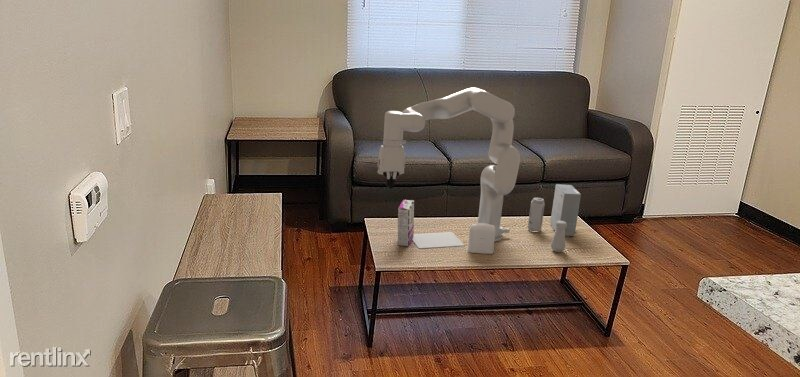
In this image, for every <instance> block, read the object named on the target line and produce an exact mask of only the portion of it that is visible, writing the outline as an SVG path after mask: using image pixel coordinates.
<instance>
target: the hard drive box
mask: <svg viewBox="0 0 800 377" xmlns="http://www.w3.org/2000/svg"><path fill="white" fill-rule="evenodd" d="M554 187H555V188H554V194H553V195H554V196H553V202H552V208H551V214H550V215H551V216H550V221H549V222H550V223H551V225H552V226H553V228H554V229H553V228H552V229H553V231H554V230H555V231H556V229H557V227H556V222H557V221H565V222H566V223H567V227H566V228H565V237H569V236H574V237H575V234H576V228H577V222H578V216H579V210H580V203H581V199H582V198H581V197H582V194H581V193H580V192H579V191H578V190H577V189H576V188H575V187H574V186H573V185H572V184H560V183H556V184H555V186H554ZM551 225H550V226H551ZM552 226H551V227H552ZM555 231H554V232H555Z"/></svg>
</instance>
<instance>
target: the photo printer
mask: <svg viewBox="0 0 800 377" xmlns="http://www.w3.org/2000/svg"><path fill="white" fill-rule="evenodd" d="M494 241H495V227H494V226H493V225H491V224H487V223H478V222H477V223H473V224H470V228H469V236H468V245H467V247H468V248H467V252H469V253H471V254H487V255H491V254H492V255H493V253H494V249H495V242H494Z"/></svg>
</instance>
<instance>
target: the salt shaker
mask: <svg viewBox="0 0 800 377" xmlns="http://www.w3.org/2000/svg"><path fill="white" fill-rule="evenodd" d="M556 227H557V229H556V232H555V231H554V235H553V238H552V240H551V242H550V247H551V250H552V252H554V251H555V252H554V253H556V252H561V253H563V252H564V251H565V249H566V236H565V228H566V227H567V223H566V222H565V221H557V222H556ZM562 251H563V252H562Z"/></svg>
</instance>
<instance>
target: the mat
mask: <svg viewBox="0 0 800 377" xmlns="http://www.w3.org/2000/svg"><path fill="white" fill-rule="evenodd" d="M411 242H413V243H414V244H415V246H416V247H417V249H422V250H424V249H434V248H435V249H436V248H450V247H451V248H453V247H465V246H466V245H465V243H463V242H462V241H461V240H460V238H458V236H457V235H455V234H454V232H452V231H442V232H428V233H427V232H425V233H414V237H413V239H412V241H411Z"/></svg>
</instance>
